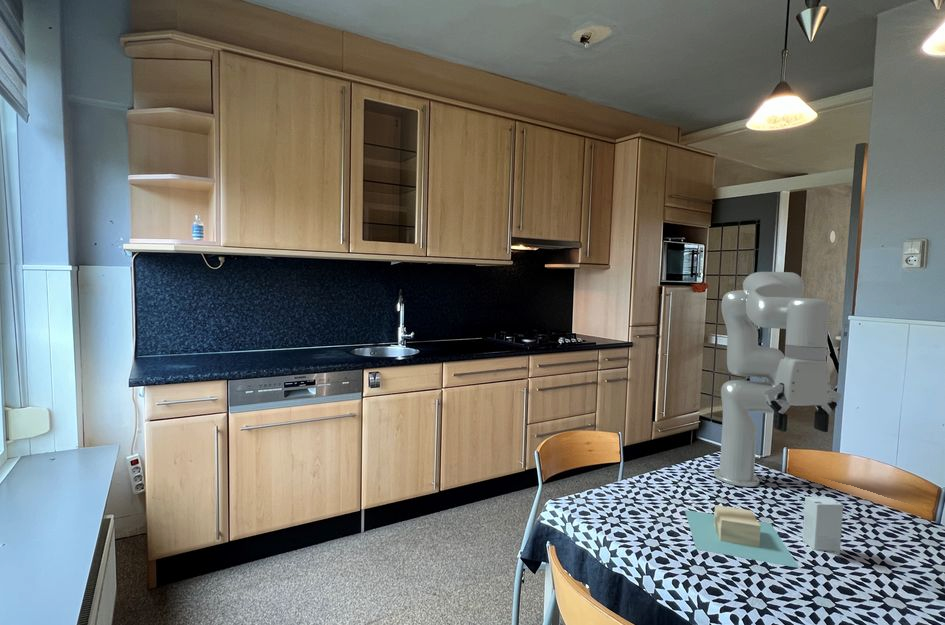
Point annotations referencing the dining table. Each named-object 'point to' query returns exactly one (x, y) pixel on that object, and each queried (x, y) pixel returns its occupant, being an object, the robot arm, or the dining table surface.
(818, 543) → the skincare box
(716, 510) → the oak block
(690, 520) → the base board
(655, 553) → the dining table surface
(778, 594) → the dining table surface
